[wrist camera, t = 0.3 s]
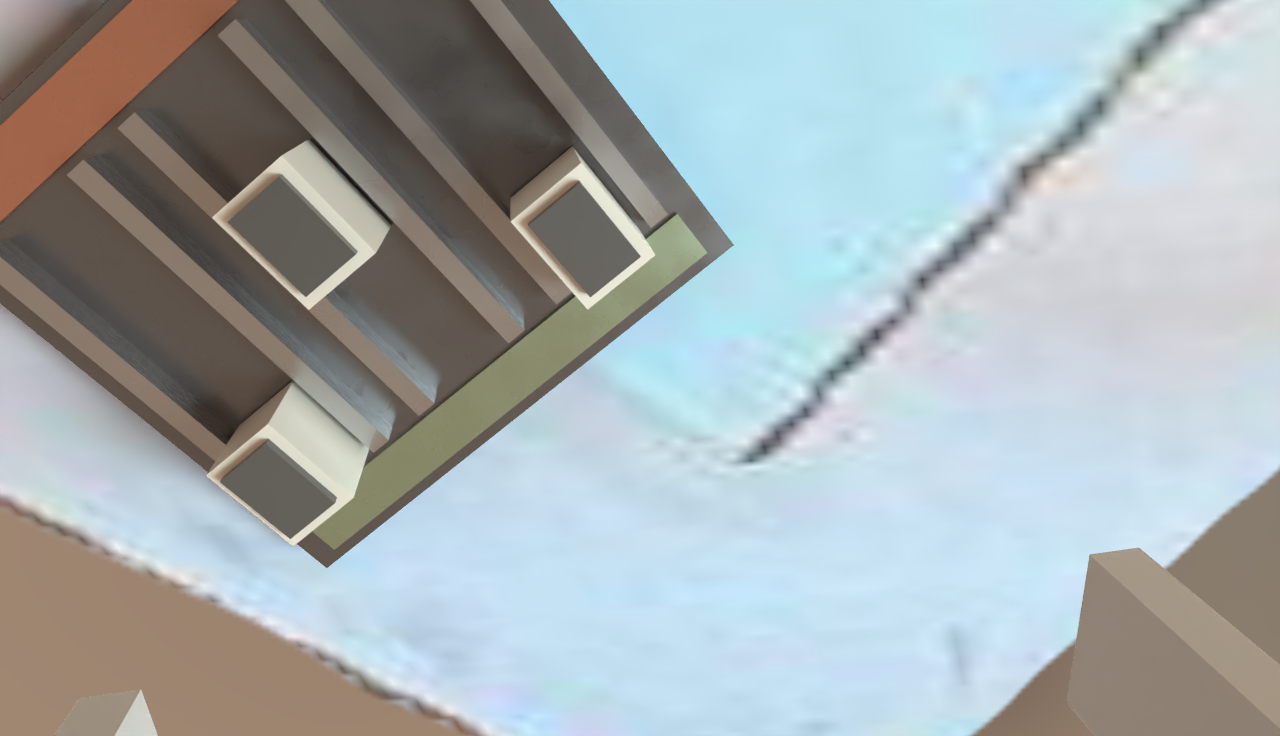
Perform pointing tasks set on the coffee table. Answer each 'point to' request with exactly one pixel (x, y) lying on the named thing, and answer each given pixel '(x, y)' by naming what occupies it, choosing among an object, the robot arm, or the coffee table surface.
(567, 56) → the panel
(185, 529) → the coffee table surface
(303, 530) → the block
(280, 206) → the block
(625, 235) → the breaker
